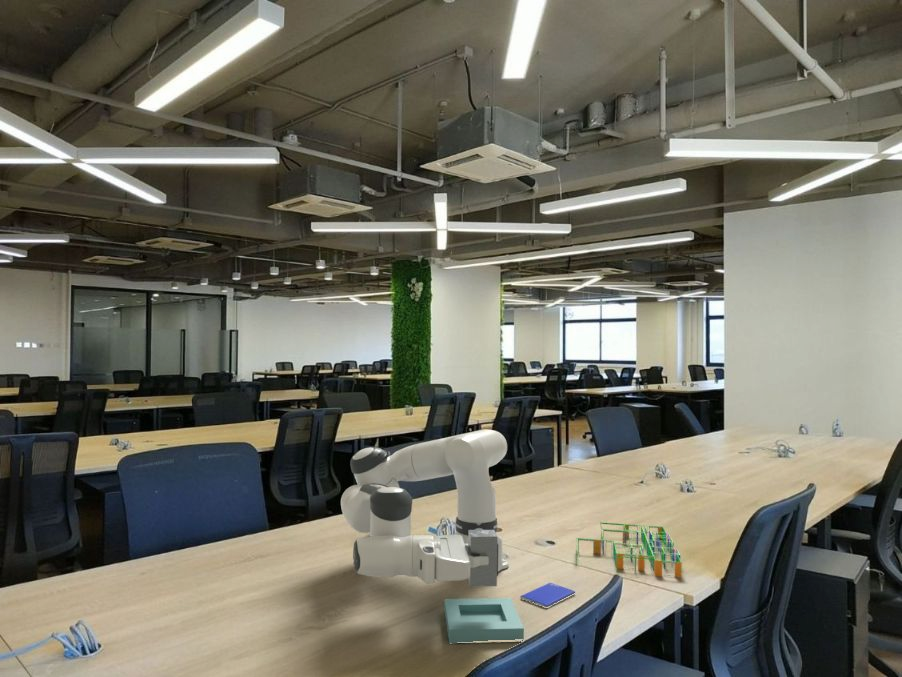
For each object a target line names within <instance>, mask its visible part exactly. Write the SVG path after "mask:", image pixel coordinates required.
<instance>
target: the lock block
mask: <svg viewBox="0 0 902 677" xmlns="http://www.w3.org/2000/svg"><path fill="white" fill-rule="evenodd" d="M497 534H498V533H497ZM497 534H496V532H495V530H468V556H473V557H477V556H480V555H487V556H488V558H489V564H488V565H480V566H477V567H474V568H470V577H469V578H468V579H467V581H468V585H469V587H498V576H499V571H498V543H497Z"/></svg>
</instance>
